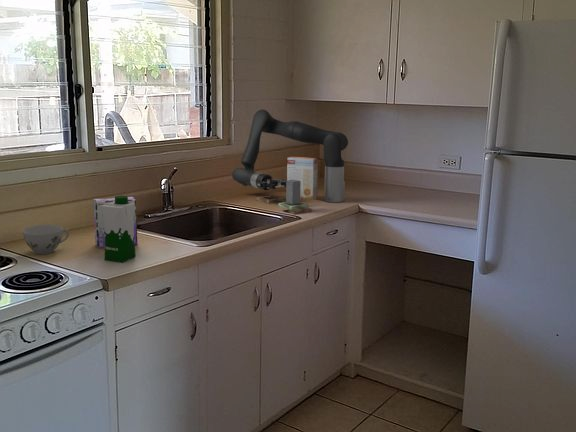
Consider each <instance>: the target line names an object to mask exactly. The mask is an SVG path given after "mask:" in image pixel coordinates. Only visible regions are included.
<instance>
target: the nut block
mask: <svg viewBox="0 0 576 432" xmlns="http://www.w3.org/2000/svg"><path fill="white" fill-rule="evenodd" d="M286 180H287V179H286ZM300 187H301V181H298V180H287V181H286V187H285V188H286V189H285V190H286V191H285V194H286V195H285V202H286V204H287V205H291V206H294V205H300V202H301V198H300Z"/></svg>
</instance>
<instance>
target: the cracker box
mask: <svg viewBox="0 0 576 432" xmlns="http://www.w3.org/2000/svg"><path fill="white" fill-rule="evenodd" d="M318 160H319V158H318V157H305V156H289V157H287V161H286V162H287V164H286V165H287V166H286V167H287V169H286V170H287V171H286V180H298V181H301V187H300V199H307V200H316V201H317V199H318V172H319V171H318V170H319V169H318V166H319V165H318V162H319V161H318Z"/></svg>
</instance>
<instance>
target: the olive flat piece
mask: <svg viewBox="0 0 576 432" xmlns="http://www.w3.org/2000/svg"><path fill="white" fill-rule="evenodd" d="M255 201H257V202H260V203H263V204H266V205H267V204H268V205H271V206H275V207H278V208H281V209H284V210H281V212H284V213H288V214H291V215H299V214H305V213H311V212H313V211H312V207H309V204H308V203H304V202H301V201H300V205H294V206H291V205H287V204H286V197H281V196H277V195H266V196H265V195H264V196H257V197H256V199H255Z"/></svg>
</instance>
